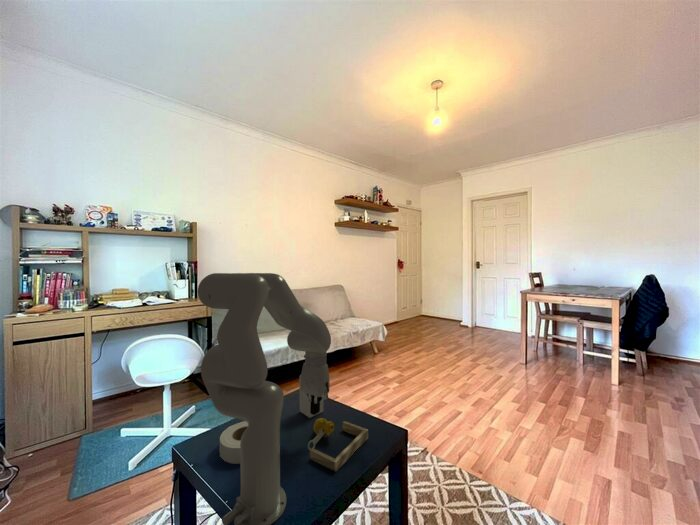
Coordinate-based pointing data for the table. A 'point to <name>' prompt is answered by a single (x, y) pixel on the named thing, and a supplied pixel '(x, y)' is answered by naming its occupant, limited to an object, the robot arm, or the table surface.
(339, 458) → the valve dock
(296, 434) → the table surface
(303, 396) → the milk carton
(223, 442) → the roll of tape
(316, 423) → the pressure relief valve
